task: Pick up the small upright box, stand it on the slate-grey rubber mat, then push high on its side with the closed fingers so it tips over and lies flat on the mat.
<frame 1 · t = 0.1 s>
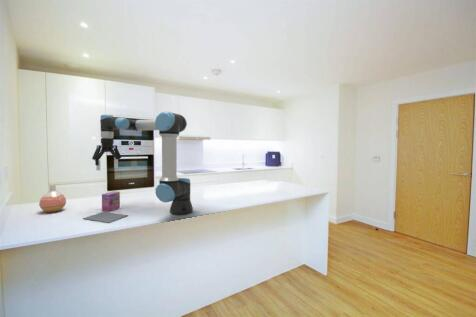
hand: (107, 169, 154), 28 cm above the table, fingers open, 13 cm apart
box: (111, 210, 155), on the table
mat: (106, 217, 139), on the table
vase: (53, 211, 150), on the table
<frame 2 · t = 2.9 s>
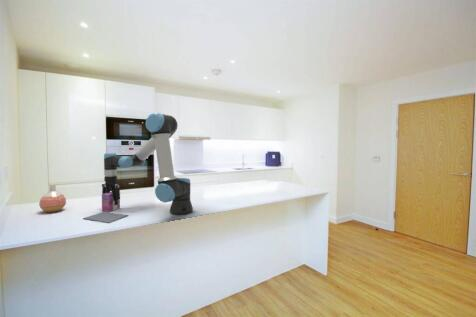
hand: (111, 209, 155), 0 cm above the table, fingers closed on box, 6 cm apart
box: (111, 210, 155), on the table, touching gripper
everything else where it was.
when the fingers open (2 cm above the table, at t = 8.3 s): box stays where it is, resting on mat.
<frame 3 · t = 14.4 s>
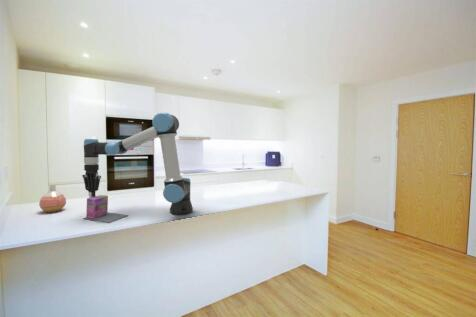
hand: (92, 201, 140), 9 cm above the table, fingers closed
box: (97, 216, 139), point 1 cm above the table, touching gripper, mat
everything else where it was.
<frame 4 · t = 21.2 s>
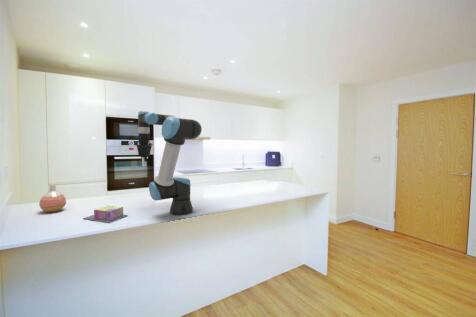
hand: (144, 166, 163), 29 cm above the table, fingers closed
box: (100, 212, 139), point 3 cm above the table, touching mat
everything else where it was.
at the end: box tilted 89°; box inside the target area on the mat (5.9 cm from its centre), point 3.3 cm above the mat's base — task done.
